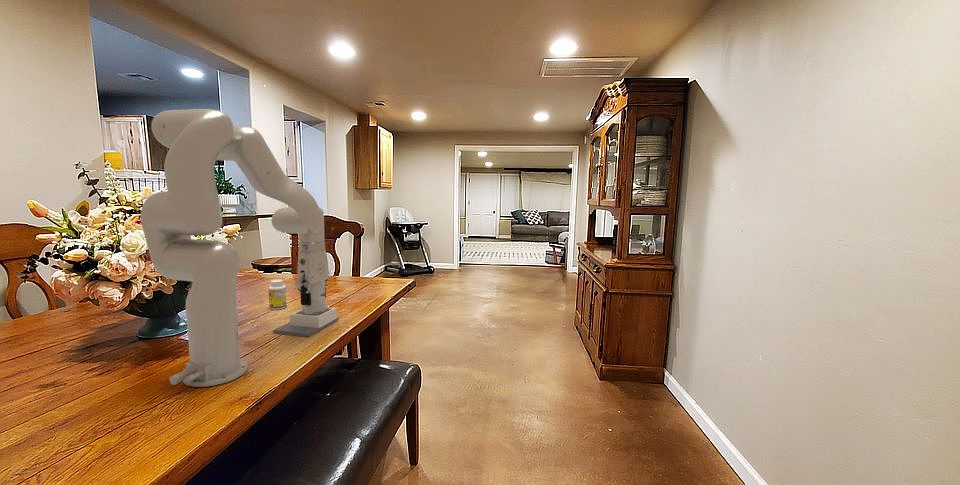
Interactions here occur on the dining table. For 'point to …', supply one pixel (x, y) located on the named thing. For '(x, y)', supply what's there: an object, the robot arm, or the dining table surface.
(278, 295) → the supplement bottle
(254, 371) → the dining table surface
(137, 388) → the dining table surface
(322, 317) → the socket holder
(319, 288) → the skincare box
